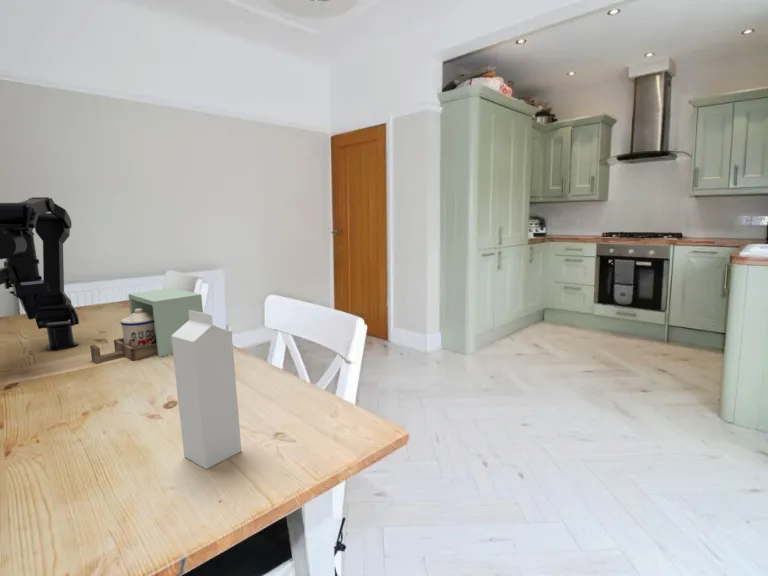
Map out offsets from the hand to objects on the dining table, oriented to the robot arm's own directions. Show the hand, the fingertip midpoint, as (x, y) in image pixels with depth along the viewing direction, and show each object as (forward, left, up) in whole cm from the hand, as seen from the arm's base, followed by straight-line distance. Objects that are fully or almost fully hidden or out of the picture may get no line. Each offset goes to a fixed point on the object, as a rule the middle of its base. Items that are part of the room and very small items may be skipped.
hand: (31, 319), depth 107 cm
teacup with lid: (+8, +23, -12) cm, 27 cm away
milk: (+74, +9, -12) cm, 76 cm away
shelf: (+8, +29, -12) cm, 32 cm away
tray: (+8, +22, -12) cm, 26 cm away
